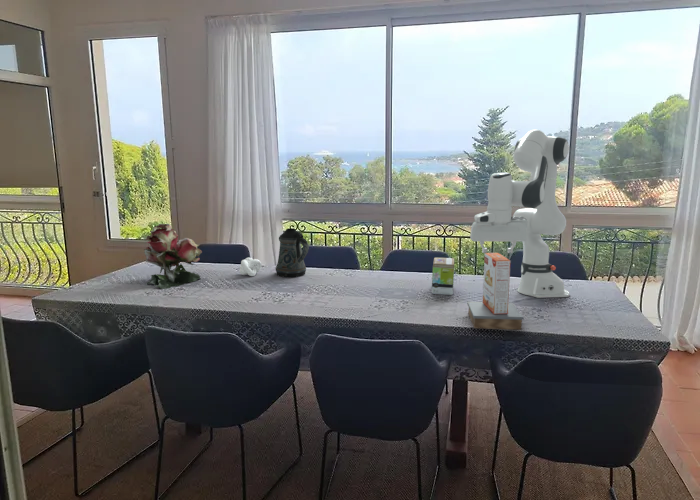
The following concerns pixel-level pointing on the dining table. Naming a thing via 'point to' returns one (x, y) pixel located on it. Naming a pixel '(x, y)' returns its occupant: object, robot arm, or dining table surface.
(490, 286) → the cracker box
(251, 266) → the white knot sculpture
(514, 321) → the podium
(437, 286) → the tea box
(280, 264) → the beer stein
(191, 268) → the dining table surface
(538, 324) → the dining table surface
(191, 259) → the rose bouquet
